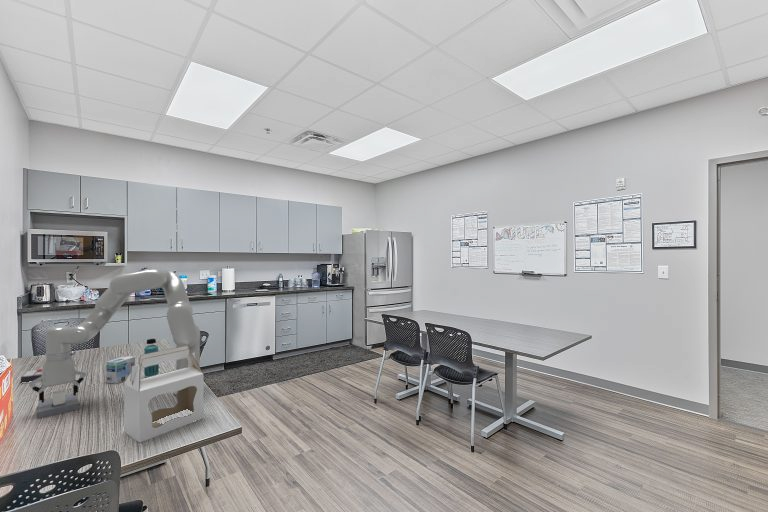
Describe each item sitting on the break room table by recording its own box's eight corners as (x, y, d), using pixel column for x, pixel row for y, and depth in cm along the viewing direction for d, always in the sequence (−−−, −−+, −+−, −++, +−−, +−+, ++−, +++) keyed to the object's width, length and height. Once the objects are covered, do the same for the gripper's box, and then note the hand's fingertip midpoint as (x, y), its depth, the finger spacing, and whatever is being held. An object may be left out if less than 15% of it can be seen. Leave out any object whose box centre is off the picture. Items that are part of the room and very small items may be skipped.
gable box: (138, 443, 117) (138, 360, 117) (123, 432, 124) (122, 354, 124) (204, 418, 135) (204, 346, 135) (187, 410, 142) (187, 341, 143)
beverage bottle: (147, 380, 178) (147, 341, 178) (141, 378, 181) (141, 339, 181) (161, 376, 183) (161, 338, 183) (155, 374, 187) (154, 337, 187)
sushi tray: (61, 371, 183) (20, 375, 174) (60, 379, 183) (20, 384, 174) (64, 366, 192) (26, 370, 183) (64, 374, 192) (26, 378, 183)
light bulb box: (116, 384, 173) (116, 362, 173) (105, 383, 174) (105, 361, 174) (135, 376, 183) (135, 356, 183) (125, 376, 185) (125, 355, 185)
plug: (65, 410, 143) (65, 392, 143) (53, 413, 140) (53, 394, 141) (64, 406, 146) (64, 389, 146) (52, 409, 144) (52, 391, 144)
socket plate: (78, 409, 144) (78, 401, 144) (38, 418, 136) (38, 410, 136) (76, 398, 156) (76, 390, 156) (38, 406, 147) (38, 398, 147)
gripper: (85, 350, 152) (85, 389, 152) (29, 359, 140) (29, 401, 140) (86, 354, 147) (87, 394, 147) (28, 363, 135) (28, 407, 135)
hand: (59, 398), depth 144 cm, fingers open, 9 cm apart
